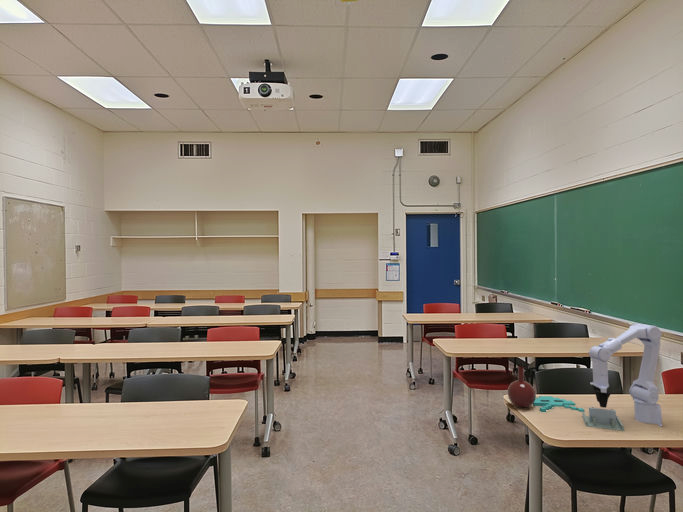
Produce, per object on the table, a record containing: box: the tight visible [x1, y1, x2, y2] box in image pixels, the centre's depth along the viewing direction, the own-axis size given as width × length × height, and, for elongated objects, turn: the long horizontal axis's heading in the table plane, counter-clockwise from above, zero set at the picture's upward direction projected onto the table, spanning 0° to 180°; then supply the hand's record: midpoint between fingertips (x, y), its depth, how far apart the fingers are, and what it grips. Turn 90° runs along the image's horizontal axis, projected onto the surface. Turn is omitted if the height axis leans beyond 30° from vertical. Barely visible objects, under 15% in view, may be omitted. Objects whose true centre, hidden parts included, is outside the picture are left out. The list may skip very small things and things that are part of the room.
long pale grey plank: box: [588, 406, 617, 425], centre depth 175 cm, size 10×1×6 cm, turn 64°
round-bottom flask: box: [507, 366, 537, 409], centre depth 199 cm, size 13×13×20 cm
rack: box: [581, 412, 625, 432], centre depth 175 cm, size 14×13×4 cm
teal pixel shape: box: [532, 395, 586, 413], centre depth 200 cm, size 20×2×20 cm
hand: (601, 404), depth 175 cm, fingers open, 7 cm apart
